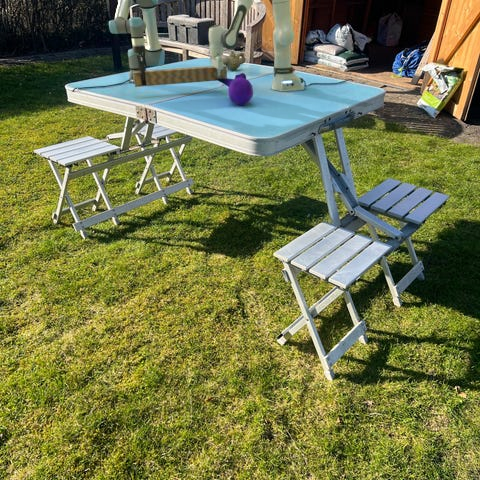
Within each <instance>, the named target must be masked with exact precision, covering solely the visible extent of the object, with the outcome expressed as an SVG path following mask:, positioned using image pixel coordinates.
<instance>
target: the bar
mask: <svg viewBox="0 0 480 480" xmlns="http://www.w3.org/2000/svg"><path fill="white" fill-rule="evenodd" d="M145 73H146V74H145V77H146V85H145V86H144V87H152V86H167V85H177V84H178V85H179V84H192V83H203V82H204V83H206V82H216V81H218V80H216V78H228V69H227V67H226V65H224V64H223V70H221V72H220V76H218V75H217V69H216V67H214V66H212V65H207V66H193V67H178V68H168V69H167V68H162V69H150V70H149V69H147V70H146V71H145ZM140 74H141V71H133V77H134V83H133V84H134V87H135V88H139V87H143V86H142V80H141V75H140ZM218 82H219V81H218Z"/></svg>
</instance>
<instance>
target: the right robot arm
mask: <svg viewBox="0 0 480 480" xmlns="http://www.w3.org/2000/svg"><path fill="white" fill-rule="evenodd" d="M254 2H255V0H234V13H233V18H232V20H231V23H230V26H229V29H228V28H226V27H224V26H222V25H221V24H214V25H212V26H210V27H209V28H208V42H209V43H208V44H209V47H208V48H209V49H208V55H209V62H210V66H214V67H216V69H217V75H218V76H220V72H221V70H223V65H224V64H223V58H224V57H223V56H224V49H227V50H233V49H235V48H237V46H238V45H239V33H240V30H241V28H242V25H243V23H244V20H245V18H246V16H247V15H248V13H249V12H250V10H251V8H252V5H253V4H254ZM271 3H272V17H273V21H274V26H275V28H274V29H273V32H272V36H273V37H272V42H273V53H274V56H273V57H274V60H273V61H274V62H273V63H274V64H273V70H272V71H273V72H272V75H273V80H272V85H271V90H273V91H277V92H278V91H280V92H295V91H304V90H305V88H306V87H308V86H312V85H339V84H343V83H345V82H348V81H352V82H354V79H352V78H349V79H346V80H342V81H339V82H329V83H327V82H312V83H310V84H308V85H306V80H304V78H302V77H300V76H298V75H297V74H296V73H294V72H296V68H295V67H293V66H292V51H291V44H293V43H294V41H295V32H294V26H293V20H292V13H291V10H292V9H291V0H271ZM303 83H304V84H303ZM302 84H303V85H302Z"/></svg>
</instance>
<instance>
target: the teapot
mask: <svg viewBox="0 0 480 480" xmlns="http://www.w3.org/2000/svg"><path fill="white" fill-rule="evenodd" d="M222 58H223V65H225V66H226V67H227V71H236V70H238V69H239V68H240V67H241V65H243V64H244V63H245V62H246V56H245V54H244V52H242V51H241V52H239V53H238V54H236V53H235V51H234V50H230V53H229V56H225V57H222ZM240 58H241V59H240Z"/></svg>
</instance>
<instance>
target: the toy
mask: <svg viewBox="0 0 480 480" xmlns="http://www.w3.org/2000/svg"><path fill="white" fill-rule="evenodd" d="M216 80H218V82H219V83H221V84H223V85H225V86H227V87H228V91H227V93H228V97H229V100H230V101H231V102H232V103H233V104H235V105H238V106H243V105H247V104H248V103H249V102H250V101H251V100H252V98H253V96H254V88H253V84H252V83H251V81H250V80H249V79H247V75H246V74H245V73H243V72H241V73H238V74H236V75H235V76H234V78H228V77H227V78H216Z"/></svg>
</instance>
